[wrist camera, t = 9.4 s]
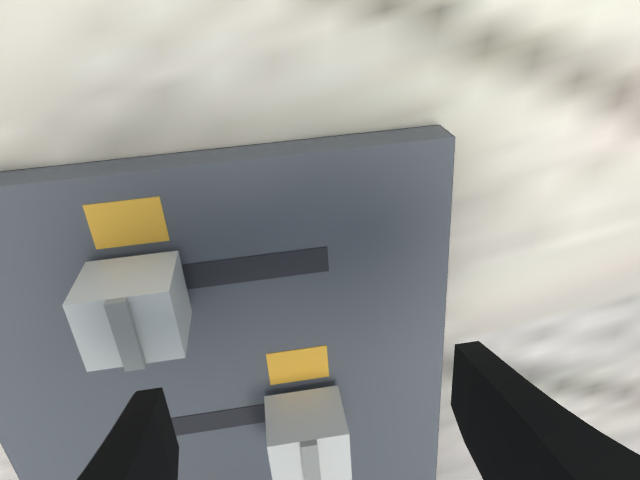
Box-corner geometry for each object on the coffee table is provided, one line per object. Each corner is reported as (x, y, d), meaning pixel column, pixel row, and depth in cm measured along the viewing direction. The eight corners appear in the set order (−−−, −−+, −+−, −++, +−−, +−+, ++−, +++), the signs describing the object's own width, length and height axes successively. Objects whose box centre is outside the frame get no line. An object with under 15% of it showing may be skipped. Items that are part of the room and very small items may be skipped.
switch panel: (423, 514, 29) (432, 541, 27) (91, 572, 27) (83, 604, 26) (439, 124, 18) (455, 137, 17) (-97, 182, 17) (-126, 200, 15)
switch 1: (192, 311, 18) (184, 363, 16) (105, 323, 18) (84, 377, 16) (178, 250, 17) (167, 296, 15) (85, 261, 17) (59, 310, 14)
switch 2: (341, 428, 22) (353, 485, 20) (271, 439, 22) (275, 498, 19) (337, 385, 21) (350, 439, 18) (264, 396, 21) (267, 452, 18)
